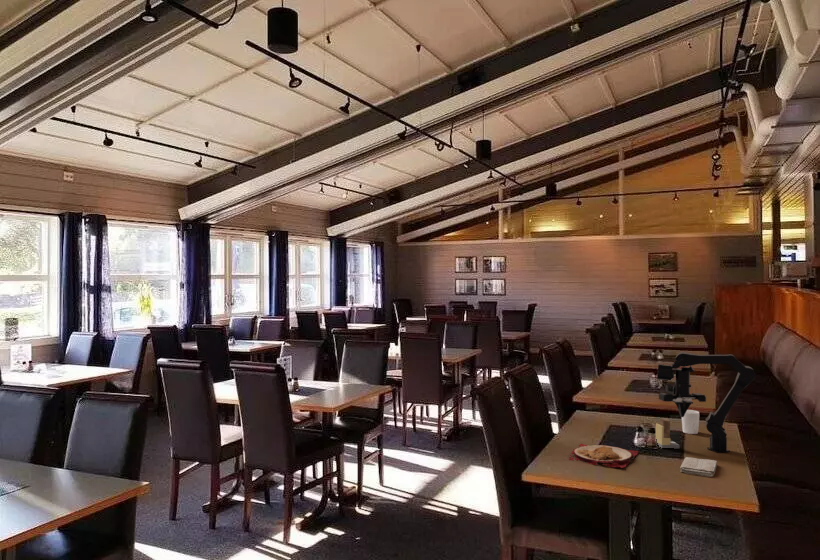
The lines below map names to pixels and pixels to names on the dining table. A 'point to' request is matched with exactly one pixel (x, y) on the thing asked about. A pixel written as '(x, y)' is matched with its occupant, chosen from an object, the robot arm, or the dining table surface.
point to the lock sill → (664, 441)
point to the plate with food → (604, 455)
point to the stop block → (665, 426)
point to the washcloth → (698, 466)
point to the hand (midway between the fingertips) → (681, 416)
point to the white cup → (690, 422)
